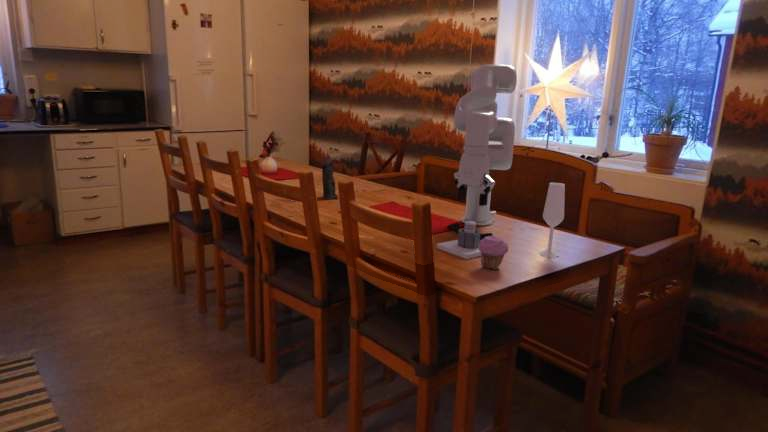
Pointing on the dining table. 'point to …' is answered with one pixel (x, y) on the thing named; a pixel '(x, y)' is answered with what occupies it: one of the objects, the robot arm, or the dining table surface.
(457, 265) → the dining table surface
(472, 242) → the steel ring
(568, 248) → the dining table surface
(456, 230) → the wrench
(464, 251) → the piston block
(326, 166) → the statue
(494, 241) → the cupcake
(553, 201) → the champagne flute
